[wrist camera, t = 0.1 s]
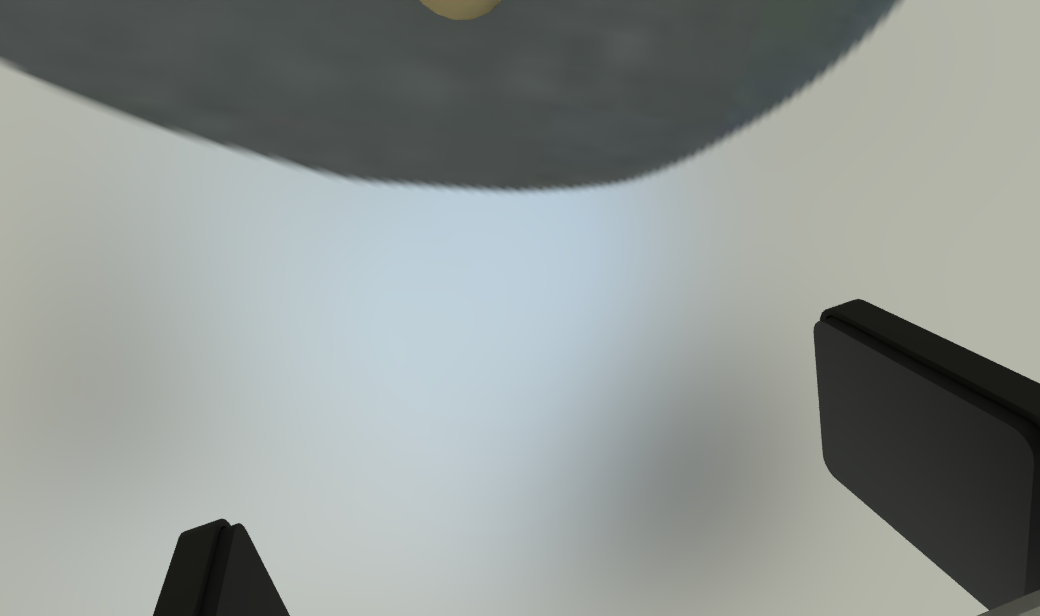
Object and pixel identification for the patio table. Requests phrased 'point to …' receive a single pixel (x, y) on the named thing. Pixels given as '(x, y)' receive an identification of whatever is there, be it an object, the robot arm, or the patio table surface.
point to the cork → (461, 8)
